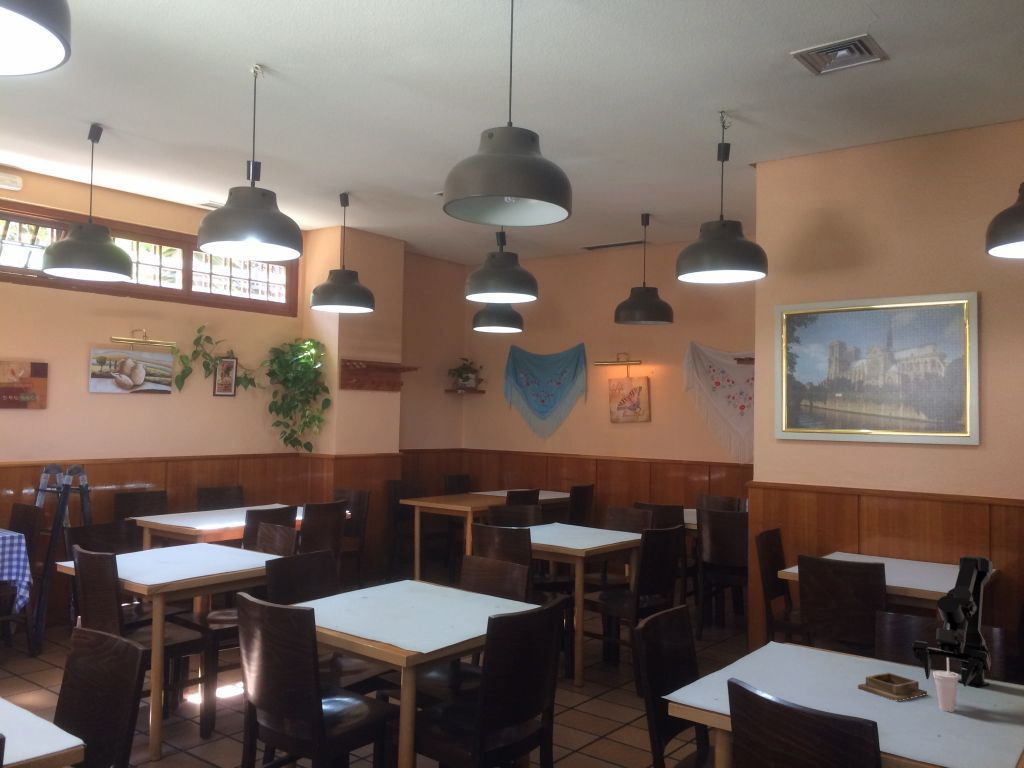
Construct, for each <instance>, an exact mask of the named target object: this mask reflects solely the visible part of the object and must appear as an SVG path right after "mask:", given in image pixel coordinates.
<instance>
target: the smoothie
mask: <svg viewBox="0 0 1024 768" xmlns="http://www.w3.org/2000/svg"><path fill="white" fill-rule="evenodd" d="M932 673H933V674H932V676H933V677H934V682H935V683H934V684H935V689H936V693H937V694H936V696H937V699H938V706H939V707H938V708H939V710H940V709H942V710H944V711H943V712H946V711H949V712H948V713H954V712H956V703H957V694H958V687H959V686H958V685H959V682H958V680H959V679H960V674H958V673H956V672H954V671H950V659H949V658H946V670H941V669H940V670H934V671H932ZM942 710H941V711H942ZM953 711H954V712H953Z"/></svg>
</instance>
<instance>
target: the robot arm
mask: <svg viewBox="0 0 1024 768" xmlns="http://www.w3.org/2000/svg"><path fill="white" fill-rule="evenodd" d="M958 569H959V570H958V574H957V577H956V581H955V583H954V587H952V588H951V589H950V590H948V591H947V593H946V595H944V596H941V597H940V598H939V599H937V602H936V605H937V608H938V611H939V613H940V617H941V620H942V621H943V622H944V623H943V628H941V627H937V628H936V633H935V634H936V635H935V636H936V637H935V640H936V641H937V647H939V648H937V647H930V643H929V642H927V641H921V640H916V639H915V640H913V642H912V643H911V650H912V653H913V655H914V658H915V659H917V660H919V662H920V663H923V669H924V673H925V678H926V680H929V679H930V674H931V668H932V660H931V659H932V656H936V657H940V658H946V659H947V658H949V660H951V659H952V660H954V661H955V662H956V663H958V662H960V675H961V676H960V678H959V680H958V683H961V684H963V687H968V686H970V687H971V686H972V687H974V688H980V687H981V688H982V687H985V686H989V685H990V682H988V681H985V672H989V671H990V670H991V666H992V659H991V654H990V651H989V649H988V646H987V645H986V644H987V643H986V640H985V639H984V637H983V634H982V633H981V628H982V627H981V626H982V614H983V613H982V612H983V598H984V597H983V595H984V586H986V584H987V583H988V582H990V579H991V574H992V573H993V570H994V564H993V561H991V560H989V558H988V557H987V556H986V557H985V556H975V555H965V556H961V557H959V558H958Z"/></svg>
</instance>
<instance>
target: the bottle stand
mask: <svg viewBox="0 0 1024 768" xmlns="http://www.w3.org/2000/svg"><path fill="white" fill-rule="evenodd" d="M919 684H920V683H919V681H917V680H914V679H910V678H908V677H904V676H901V675H898V674H894V673H891V672H885V673H878V674H874V675H869V676H865V683H861V684H858V685H857V688H858V689H859V690H860V691H861V690H862V691H864V692H867V693H871V694H872V695H873V694H874V695H877V696H880V697H882V696H883V698H885V697H886V698H885V699H888V698H890V699H889V700H891V699H893V700H892V701H894V700H897V701H898V700H902V701H904V700H903V699H907V698H911V697H915V696H919V695H923V694H927V695H928V691H927V690H924V689H920V687H919V686H920V685H919ZM915 698H916V697H915ZM911 699H912V698H911ZM907 700H908V699H907ZM897 701H896V702H897ZM898 702H899V701H898Z"/></svg>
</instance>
